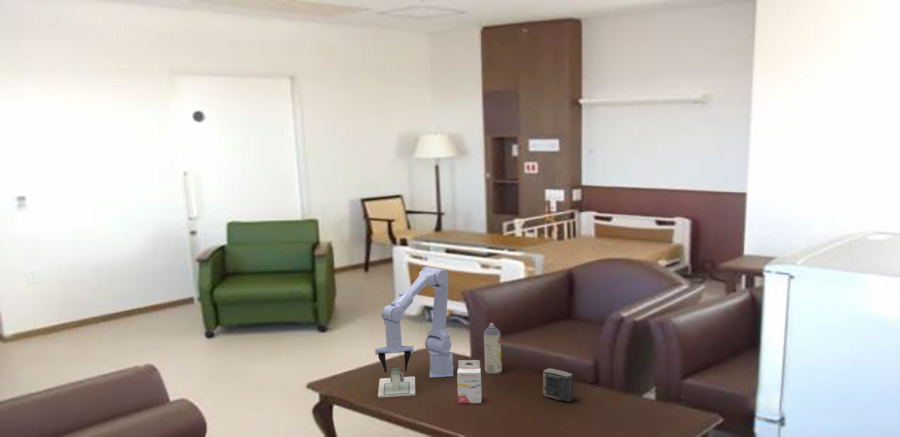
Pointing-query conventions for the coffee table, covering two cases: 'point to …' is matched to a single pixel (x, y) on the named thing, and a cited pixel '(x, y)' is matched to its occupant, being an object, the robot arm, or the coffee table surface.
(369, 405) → the coffee table surface
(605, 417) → the coffee table surface
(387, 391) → the activity board
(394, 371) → the marker
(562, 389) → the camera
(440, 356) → the robot arm
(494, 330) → the aerosol can
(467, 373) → the ink cartridge box
